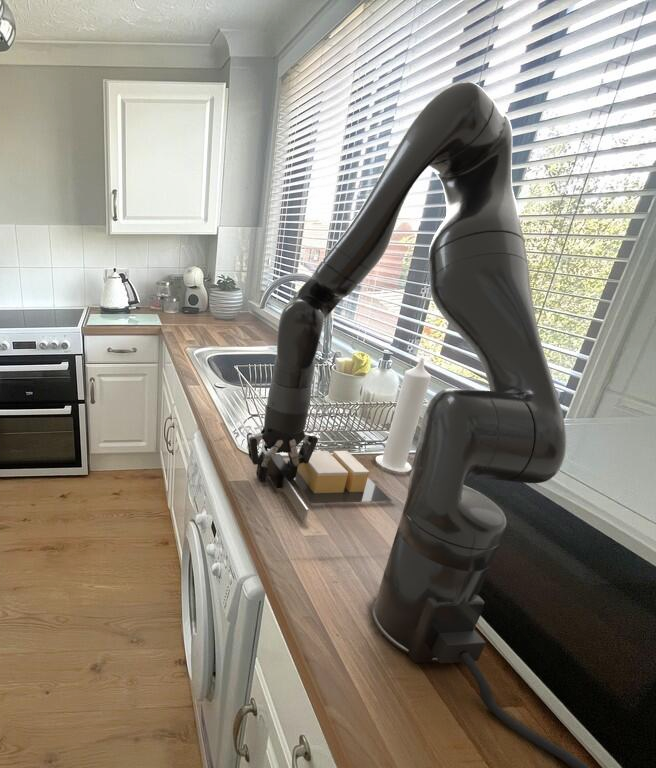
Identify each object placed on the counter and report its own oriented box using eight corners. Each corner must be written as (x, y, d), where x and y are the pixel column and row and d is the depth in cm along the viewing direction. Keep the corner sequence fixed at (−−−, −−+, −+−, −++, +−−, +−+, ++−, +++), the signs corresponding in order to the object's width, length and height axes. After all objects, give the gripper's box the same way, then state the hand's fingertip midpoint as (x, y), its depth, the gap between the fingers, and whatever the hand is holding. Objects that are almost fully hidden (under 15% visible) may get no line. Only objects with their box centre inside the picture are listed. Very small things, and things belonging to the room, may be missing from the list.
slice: (364, 491, 81) (369, 471, 79) (349, 492, 80) (354, 472, 79) (342, 469, 88) (347, 450, 86) (329, 469, 88) (333, 450, 86)
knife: (265, 474, 87) (268, 453, 85) (276, 474, 87) (279, 453, 85) (297, 526, 72) (302, 502, 70) (310, 525, 72) (315, 502, 71)
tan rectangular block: (343, 492, 80) (348, 472, 79) (314, 493, 80) (318, 473, 78) (323, 469, 88) (327, 450, 86) (296, 470, 87) (300, 451, 86)
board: (391, 504, 78) (392, 500, 78) (310, 507, 77) (311, 503, 77) (351, 464, 92) (351, 461, 91) (281, 466, 90) (281, 463, 90)
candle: (367, 460, 93) (393, 354, 84) (391, 455, 96) (419, 351, 87) (393, 477, 87) (425, 364, 78) (418, 472, 89) (452, 362, 80)
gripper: (315, 395, 82) (300, 468, 88) (244, 396, 81) (235, 470, 87) (334, 411, 75) (317, 489, 82) (257, 412, 74) (246, 491, 80)
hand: (275, 479), depth 84 cm, fingers open, 5 cm apart
